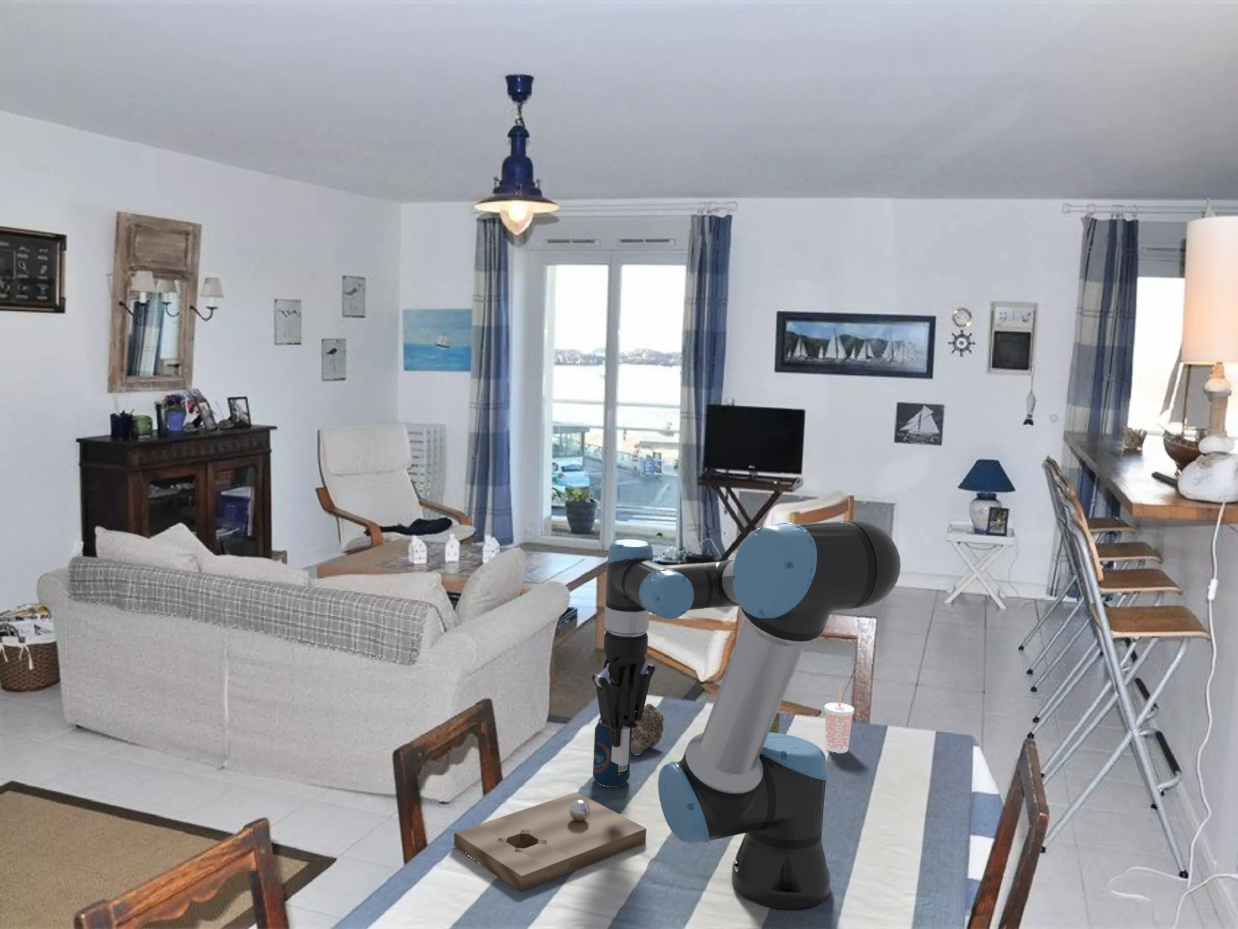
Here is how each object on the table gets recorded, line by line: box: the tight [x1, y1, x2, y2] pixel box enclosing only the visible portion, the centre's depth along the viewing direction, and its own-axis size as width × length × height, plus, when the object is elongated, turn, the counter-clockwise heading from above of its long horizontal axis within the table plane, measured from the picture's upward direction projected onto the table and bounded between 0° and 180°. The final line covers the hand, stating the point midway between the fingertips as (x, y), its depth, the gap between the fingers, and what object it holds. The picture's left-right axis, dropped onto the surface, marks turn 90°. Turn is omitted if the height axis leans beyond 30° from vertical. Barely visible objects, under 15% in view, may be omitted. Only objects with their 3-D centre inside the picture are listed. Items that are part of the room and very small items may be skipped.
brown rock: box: [631, 703, 665, 756], centre depth 222 cm, size 14×9×10 cm, turn 123°
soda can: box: [592, 717, 632, 788], centre depth 204 cm, size 7×7×12 cm
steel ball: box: [569, 800, 590, 822], centre depth 182 cm, size 4×4×4 cm
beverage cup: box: [823, 683, 855, 754], centre depth 225 cm, size 6×6×14 cm
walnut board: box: [453, 791, 647, 893], centre depth 178 cm, size 18×26×2 cm
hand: (619, 762), depth 188 cm, fingers closed
